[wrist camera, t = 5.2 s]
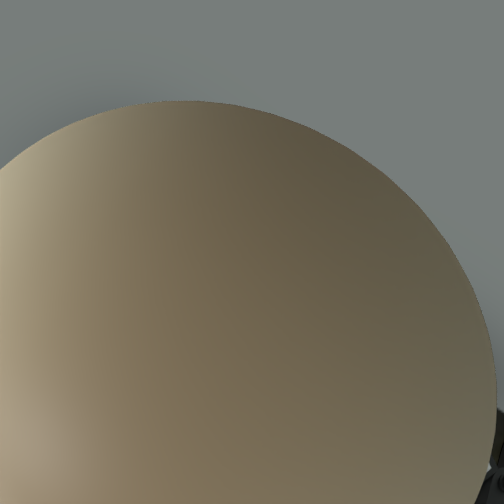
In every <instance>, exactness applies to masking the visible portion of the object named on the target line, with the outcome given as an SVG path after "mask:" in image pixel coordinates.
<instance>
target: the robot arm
mask: <svg viewBox="0 0 504 504" xmlns="http://www.w3.org/2000/svg"><path fill="white" fill-rule="evenodd" d="M474 504H504V445H503V448H502V451H501V454H500V458H499V462H498V466H497V465H496V463H495V461H494V458H493V456H492V454H491V456H490V460H489V464H488V468H487V472H486V475H485V478H484V481H483V484H482V486H481V489H480V491H479V494H478V496H477V499H476V501H475V503H474Z"/></svg>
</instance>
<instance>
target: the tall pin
mask: <svg viewBox="0 0 504 504" xmlns="http://www.w3.org/2000/svg"><path fill="white" fill-rule="evenodd" d="M496 411H497V382H496V373H495V366H494V359H493V353H492V348H491V343H490V337H489V334H488V330H487V327H486V324H485V321H484V318H483V315H482V312H481V309H480V306H479V303H478V300H477V298H476V295H475V293H474V291H473V288H472V286H471V284H470V282H469V280H468V278H467V276H466V274H465V272H464V270H463V269H462V267H461V265H460V263H459V262H458V260H457V258H456V256H455V254H454V253H453V251H452V249H451V248H450V246H449V244H448V243H447V242H446V240H445V239H444V238H443V236H442V235H441V234H440V232H439V231H438V230H437V228H436V227H435V226H434V225H433V223H432V222H431V221H430V220H429V218H428V217H427V216H426V214H425V213H424V212H423V211H422V210H421V208H420V207H419V206H418V205H417V204H416V203H415V202H414V201H413V200H412V199H411V198H410V197H409V196H408V195H407V194H406V193H405V192H404V191H402V190H401V189H400V188H399V187H398V186H397V185H396V184H395V183H394V182H393V181H392V180H391V179H390V178H389V177H387V176H386V175H385V174H384V173H383V172H381V171H380V170H378V169H377V168H376V167H374V166H373V165H372V164H370V163H369V162H368V161H366V160H365V159H363V158H362V157H360V156H359V155H358V154H356V153H355V152H353V151H352V150H350V149H349V148H347V147H345V146H344V145H342V144H340V143H338V142H336V141H334V140H332V139H331V138H329V137H327V136H325V135H323V134H321V133H319V132H317V131H315V130H313V129H311V128H308V127H306V126H304V125H301V124H299V123H296V122H293V121H290V120H288V119H285V118H282V117H279V116H277V115H274V114H271V113H267V112H262V111H259V110H255V109H250V108H246V107H241V106H237V105H231V104H223V103H214V102H204V101H162V102H153V103H145V104H138V105H132V106H127V107H122V108H118V109H114V110H110V111H106V112H103V113H99V114H96V115H93V116H91V117H88V118H85V119H83V120H80V121H77V122H75V123H72V124H70V125H68V126H66V127H64V128H62V129H60V130H58V131H56V132H54V133H52V134H50V135H48V136H46V137H45V138H43V139H41V140H40V141H38V142H37V143H35V144H34V145H32V146H30V147H29V148H27V149H26V150H25V151H23V152H22V153H20V154H19V155H18V156H16V157H15V158H14V159H13V160H11V161H10V162H9V163H8V164H7V165H5V166H4V167H3V168H2V169H1V170H0V504H474V503H475V501H476V499H477V496H478V494H479V491H480V489H481V486H482V484H483V481H484V478H485V475H486V472H487V468H488V464H489V460H490V456H491V451H492V446H493V441H494V435H495V429H496Z"/></svg>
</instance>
